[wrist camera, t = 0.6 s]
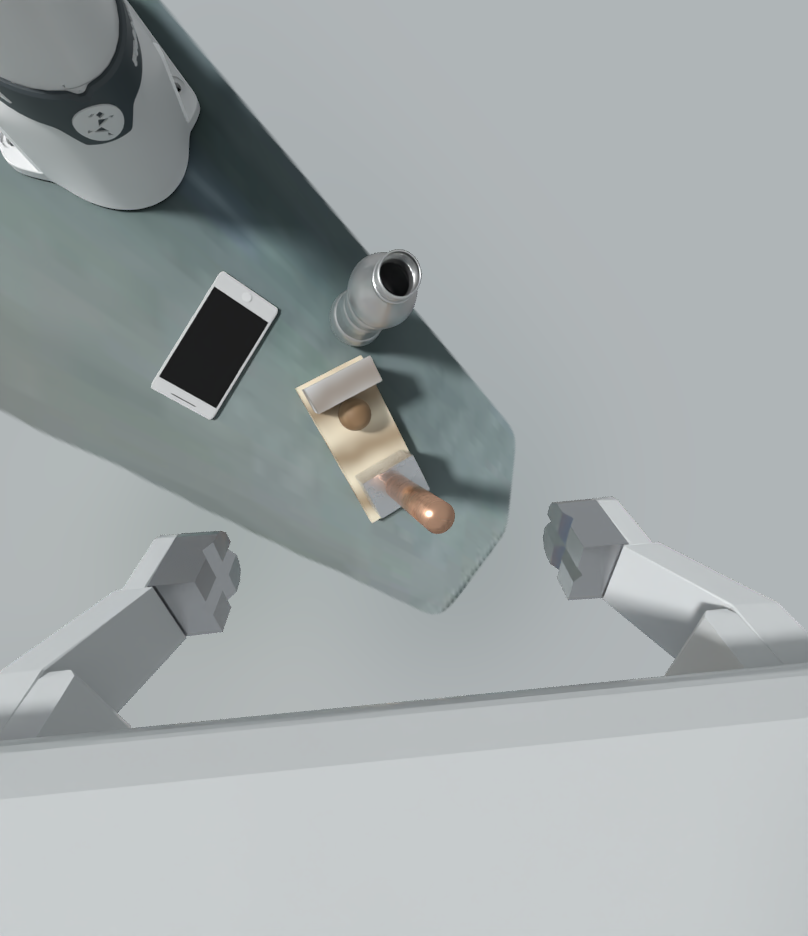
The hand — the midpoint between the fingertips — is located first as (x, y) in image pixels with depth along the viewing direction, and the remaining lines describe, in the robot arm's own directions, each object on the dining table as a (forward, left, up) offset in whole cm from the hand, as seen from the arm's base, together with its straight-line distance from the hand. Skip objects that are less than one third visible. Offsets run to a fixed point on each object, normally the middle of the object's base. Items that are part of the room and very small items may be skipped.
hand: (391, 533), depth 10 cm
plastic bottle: (-8, +12, -42) cm, 45 cm away
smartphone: (-12, -4, -43) cm, 45 cm away
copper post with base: (+11, +6, -40) cm, 42 cm away
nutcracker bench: (+6, +6, -42) cm, 43 cm away
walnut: (+1, +6, -40) cm, 40 cm away
